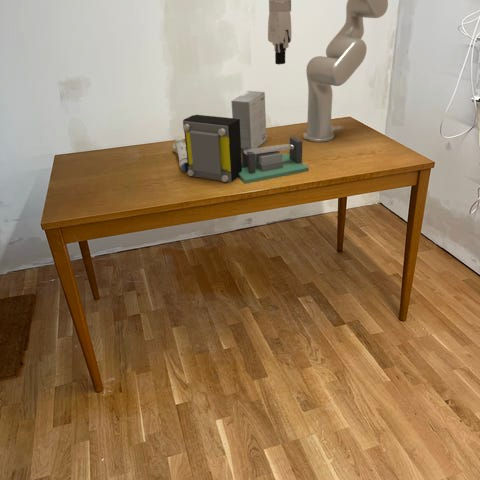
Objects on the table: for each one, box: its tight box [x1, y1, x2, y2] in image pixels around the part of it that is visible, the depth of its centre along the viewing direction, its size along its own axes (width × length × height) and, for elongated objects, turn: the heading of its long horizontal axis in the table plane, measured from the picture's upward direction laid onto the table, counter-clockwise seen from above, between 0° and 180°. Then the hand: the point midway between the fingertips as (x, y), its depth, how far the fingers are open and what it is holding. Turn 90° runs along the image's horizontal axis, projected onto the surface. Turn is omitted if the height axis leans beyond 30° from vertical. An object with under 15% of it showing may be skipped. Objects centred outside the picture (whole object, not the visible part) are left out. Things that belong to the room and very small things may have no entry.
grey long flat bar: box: [244, 141, 295, 155], centre depth 163 cm, size 18×4×1 cm, turn 111°
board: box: [238, 136, 309, 184], centre depth 164 cm, size 24×16×9 cm, turn 111°
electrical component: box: [182, 114, 242, 184], centre depth 159 cm, size 18×10×20 cm, turn 62°
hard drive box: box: [230, 90, 267, 149], centre depth 183 cm, size 16×8×20 cm, turn 154°
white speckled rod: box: [172, 135, 188, 173], centre depth 177 cm, size 5×7×25 cm
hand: (280, 63), depth 167 cm, fingers closed
